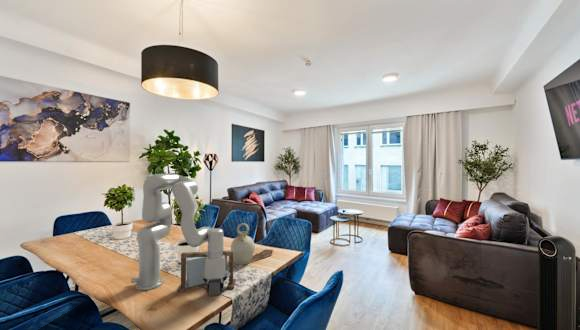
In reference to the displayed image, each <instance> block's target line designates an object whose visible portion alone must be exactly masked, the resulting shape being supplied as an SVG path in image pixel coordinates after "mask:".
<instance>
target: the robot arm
mask: <svg viewBox="0 0 580 330" xmlns="http://www.w3.org/2000/svg"><path fill="white" fill-rule="evenodd" d="M163 190H165V191H166V190H171V191H172V194H173V197H174V199H175V202H176V204H177V205H178V208H179V210H180V213H181V219H180V229H181V233H182V235H183V237H184V240H185V242H186V243H187V244H188V246H190V247H191V248H197V247H199V246H201V245H203V244H205V243H207V251H204V252H205V255H207V257H206V260H205V268H204V272H203V273H202V274H201V276H200V278H201V279H203V280H204V281H205V282H206V283H205V284H206V290H207V291H208V292H207V293H209V282H210V279H218V278H220V280H221V283H220V291H221V292H222V291H223V289H224V285H225V284H224V283H225V281H226V280H227V279H229V276H230V275H231V273H230V272H229V269H228V268H227V269H226V260H225V255H223V251H224V230H223V229H222V228H219V227H218V228H213V227H209V226H202V227H200V228H197V227H196V225H195V215H196V213H197V212H198V210H199V204H198V202H197V199H196V198H195V196H194V195H196V194H197V193H198V190H199V187H198V184H197V183H196V182H195V181H194V180H192V179H190V178H188V177H185V176H183V175H182V174H181V175H180V174H178V173H156V174H152V175H149V176H148V177H146V179H145V180H144V182H143V187H142V191H143V193H142V194H143V200H142V210H141V219H142V222H144V223H147V225H144V226H142V227H141V228H140V229H139V230H138V231H137V233H136V240H137V245H138V276H132V277H131V278H130V283H131V284H132V283H133V284H134V283H136V284H135V285H134V288H135V290H137V291H141V292H142V291H149V290H153V289H155V288H158V287H159V286H161V285H162V284H163V283H164V278H163V277H160V276H161V249H160V245H159V244H158V241H159V240H160V241H161V240H162V239H165V238H166V237H168V236H169V234H170V233H171V228H172V220H173V208H172V206H171V205H170V204H169V203H168V202H164V201H162V200H163V195H162V192H161V191H163ZM225 274H227V275H226V276H225Z"/></svg>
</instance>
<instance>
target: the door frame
mask: <svg viewBox="0 0 580 330" xmlns="http://www.w3.org/2000/svg"><path fill="white" fill-rule="evenodd" d="M205 252H206V251H193V252H192V251H190V252H189V251H188V252H182V253H180V284H179V286H178V288H177V289H176V293H185V290H186V289H187V259H194V258H199V257H207V255H205ZM223 255H225V256H227V257H228V271H229V272H230V273H231V275H230V276H229V277H228V288H227V289H228V290H234V289H235V288H236V287H235V286H236V281H237V279H236V278H234V261H233V250H232V251H231V250H223Z"/></svg>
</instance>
